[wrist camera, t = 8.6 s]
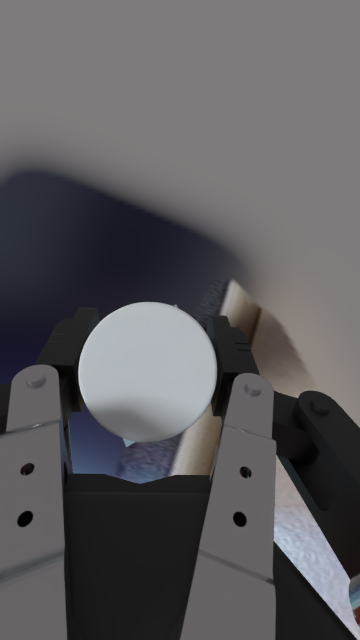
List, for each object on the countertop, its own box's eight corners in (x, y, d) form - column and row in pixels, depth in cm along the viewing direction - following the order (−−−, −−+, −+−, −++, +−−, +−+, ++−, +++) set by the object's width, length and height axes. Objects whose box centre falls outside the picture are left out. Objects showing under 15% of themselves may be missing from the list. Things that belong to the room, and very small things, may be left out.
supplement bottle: (210, 375, 17) (265, 375, 8) (149, 435, 16) (143, 501, 7) (154, 315, 17) (154, 257, 9) (91, 370, 16) (25, 364, 8)
